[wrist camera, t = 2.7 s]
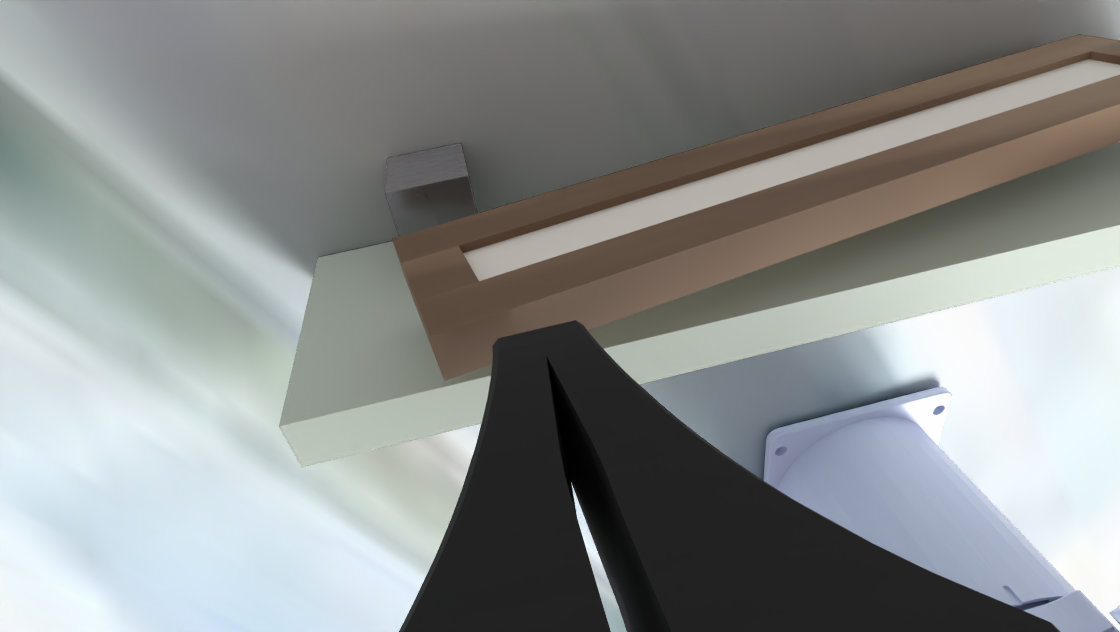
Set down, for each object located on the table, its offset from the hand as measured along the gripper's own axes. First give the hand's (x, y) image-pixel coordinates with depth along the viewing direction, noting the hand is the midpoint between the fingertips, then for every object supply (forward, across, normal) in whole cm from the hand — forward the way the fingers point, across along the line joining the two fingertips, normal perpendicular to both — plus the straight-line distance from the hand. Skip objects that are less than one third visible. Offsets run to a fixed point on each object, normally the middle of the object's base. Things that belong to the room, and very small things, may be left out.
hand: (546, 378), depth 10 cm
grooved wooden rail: (+7, -7, 0) cm, 10 cm away
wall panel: (+9, -8, +1) cm, 12 cm away
